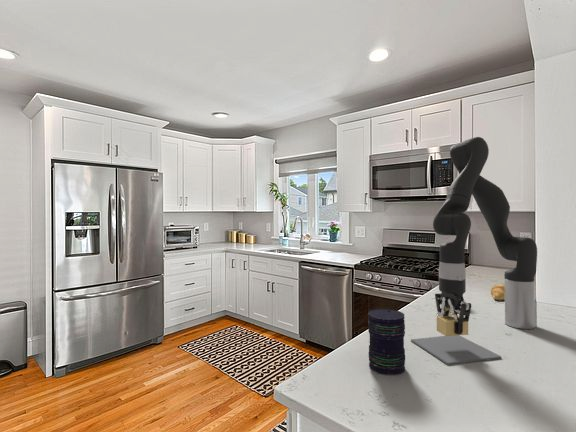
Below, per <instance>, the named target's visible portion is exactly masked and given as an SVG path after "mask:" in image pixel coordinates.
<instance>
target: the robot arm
mask: <svg viewBox="0 0 576 432" xmlns="http://www.w3.org/2000/svg"><path fill="white" fill-rule="evenodd" d="M489 150H490V149H489V145H488V143H487V142H486V140H485V139H484V138H483V137H480V136H475V137H472V138H469V139H466V140H464V141H461V142H458V143H455V144H453V145H452V146H451V147H450V148H449V155H450V156H449V157H450V160H451V162H452V164H453V166H454V167H455V169H456V171H457V172H458V173H459V174H458V175H457V176H456V177H455V179H454V180H453V181H452V183H451V184H450V186H449V188H448V191H447V195H446V198H445V201H444V203H443V204H442V205H441V207H440V208H439V210H438V211H437V212H436V214H435V216H434V218H433V221H432V228H433V230H434V232H435V233H436V234H437V235H439V236H455V239H454V240H453V241H450V242H444V243H441V244H440V245H439V263H438V264H439V266H438V290H439V293H435V294H434V299H435V304H436V310H437V311H436V312H437V313H438V312H440V313H441V315H442V316H448V315H450V313H451V314H452V315H453V316H454V319H455V322H454V332H455V334H462V332H463V322H468V323H469V320H470V316H471V310H472V303H470V302H467V301H465V299H464V294H465V293H467V292H466V290H467V289H466V265H465V264H466V263H465V252H466V251H465V248H466V245H467V239H468V236H469V233H470V231H471V227H472V221H471V218H470V216H469V215H468V214H467V213H465V212H467V211H468V209H469V208H470V204H471V199H472V197H473V198H474V200H475V201H474V202H475V203H476V205H477V208H479V211H480V213H481V214H482V216H483V217H484V219H485V221H486V223H487V226H488V228H489V230H490V232H491V234H492V237H493V240H494V243H495V245H496V248H497V250H498V252H499V255H500V256H501V257H502V258H503V259H504V260H507V261H512V262H516V264H515V265H516V266H515V267H514V268H513V269H507V270H505V271H504V275H503V276H504V284H505V300H504V324H505V325H507V326H509V327H512V328H515V329H523V330H533V329H535V328H536V327H538V326H537V325H538V321H537V319H538V315H537V313H538V312H537V308H538V307H537V305H538V301H537V300H535V277H536V274H537V267H538V266H537V265H538V246H537V243H536V241H535V240H534V239H533V238H531V237H523V236H514V235H513V234H512V232H511V231H510V229H509V227H508V219H509V215H510V210H511V207H510V204H509V203H510V202H509V201H508V199H507V197H506V195H505V193H504V191H503V190H502V189H501V188H500V187H499V186H498V185H496V184H495V183H494V182H492V181H490V180H488V179H487V178H485V177H483V176H482V175H481V173H482V170H483V169H484V166H485V165H486V163H487V160H488V157H489V155H490V154H489ZM446 310H447V311H446ZM458 316H459V318H458Z"/></svg>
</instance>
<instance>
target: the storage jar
mask: <svg viewBox="0 0 576 432" xmlns="http://www.w3.org/2000/svg"><path fill="white" fill-rule="evenodd" d="M367 323H368V328H367V331H368V333H369V334H368V335H369V345H368V362H369V363H368V367H369V368H370V370H371V371H373V372H374V373H377V374H379V375H384V376H399V375H402V374H403V373H404V372H405V371H406V366H405V365H406V350H405V339H404V338H405V334H406V332H405V330H406V323H405V314H404V312H401V311H399V310H396V309H390V308H374V309H371V310H369V311H368V321H367Z"/></svg>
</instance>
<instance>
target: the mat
mask: <svg viewBox="0 0 576 432" xmlns="http://www.w3.org/2000/svg"><path fill="white" fill-rule="evenodd" d="M410 342H412V343H413V344H414V345H416V346H418V347H420V349H422V350H424V351H425V352H427V353H428V354H429V355H432V356H433V357H434V358H435V359H438V360H439V361H441V362H442V363H443V364H445V365H447V366H452V365H459V364H468V363H475V362H477V363H478V362H484V361H493V360H501V359H502V356H501V355H500V354H497V353H495V352H493V351H491V350H489V349H488V348H485V347H484V346H482V345H479V344H477V343H475V342H474V341H471V340H469V339H468V338H465V336H464V337H463V335H456V336H445V335H440V336H432V337H422V338H421V337H420V338H413V339H410Z"/></svg>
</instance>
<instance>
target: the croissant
mask: <svg viewBox="0 0 576 432" xmlns="http://www.w3.org/2000/svg"><path fill="white" fill-rule="evenodd" d="M490 295H491V296H492V298H493V299H494V300H496V301H505V283H500V284H494V286H492V287H491V288H490Z"/></svg>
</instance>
